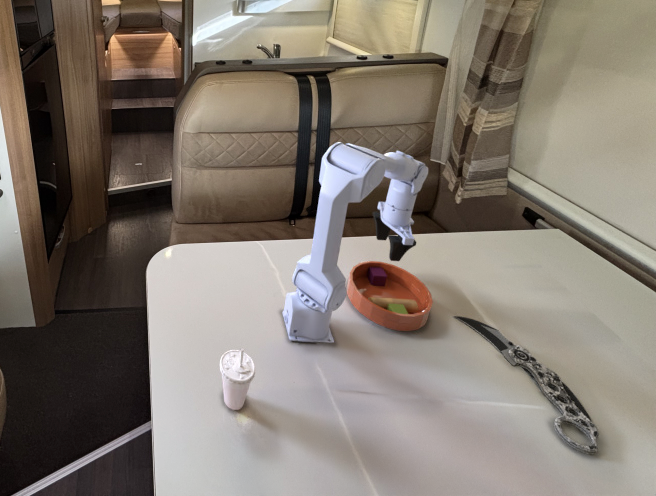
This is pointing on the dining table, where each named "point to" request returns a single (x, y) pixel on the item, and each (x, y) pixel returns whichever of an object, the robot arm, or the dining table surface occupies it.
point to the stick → (383, 303)
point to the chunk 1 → (376, 276)
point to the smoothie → (236, 377)
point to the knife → (543, 385)
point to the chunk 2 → (397, 308)
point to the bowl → (389, 296)
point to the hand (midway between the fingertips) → (387, 249)
